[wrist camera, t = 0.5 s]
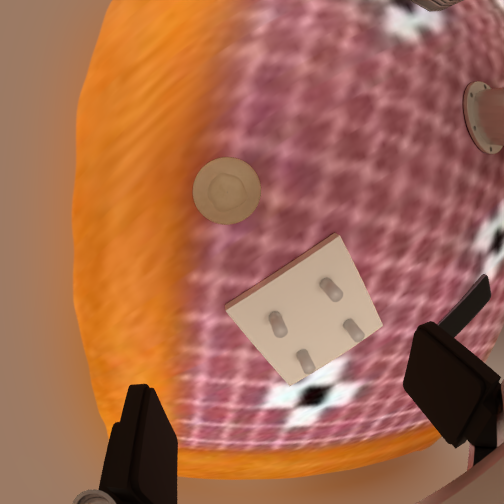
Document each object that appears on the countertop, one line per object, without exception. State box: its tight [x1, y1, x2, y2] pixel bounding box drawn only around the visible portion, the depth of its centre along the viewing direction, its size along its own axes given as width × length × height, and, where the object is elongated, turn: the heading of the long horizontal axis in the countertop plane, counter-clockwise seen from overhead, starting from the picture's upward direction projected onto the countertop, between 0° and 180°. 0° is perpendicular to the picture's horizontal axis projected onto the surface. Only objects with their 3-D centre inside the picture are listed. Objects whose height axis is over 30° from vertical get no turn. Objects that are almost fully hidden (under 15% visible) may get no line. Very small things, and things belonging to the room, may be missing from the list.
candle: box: [193, 157, 261, 225], centre depth 26 cm, size 6×6×10 cm
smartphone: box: [437, 274, 491, 338], centre depth 43 cm, size 7×1×15 cm
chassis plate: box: [225, 233, 383, 386], centre depth 35 cm, size 16×16×5 cm
